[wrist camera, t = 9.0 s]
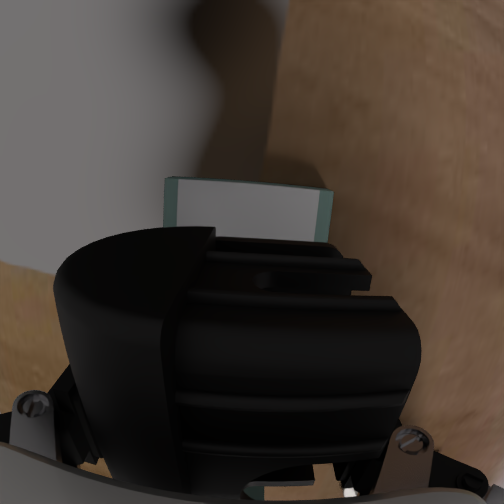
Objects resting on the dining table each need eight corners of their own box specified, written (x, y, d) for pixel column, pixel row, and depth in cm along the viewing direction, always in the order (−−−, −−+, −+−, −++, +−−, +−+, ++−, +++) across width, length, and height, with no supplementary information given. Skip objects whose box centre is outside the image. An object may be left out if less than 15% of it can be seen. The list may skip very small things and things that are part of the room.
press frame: (327, 188, 22) (455, 255, 7) (296, 383, 27) (319, 545, 12) (172, 176, 22) (25, 220, 7) (173, 373, 27) (122, 527, 12)
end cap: (128, 216, 10) (-14, 300, 4) (343, 228, 10) (456, 334, 4) (153, 429, 13) (116, 547, 7) (303, 439, 13) (320, 564, 7)
